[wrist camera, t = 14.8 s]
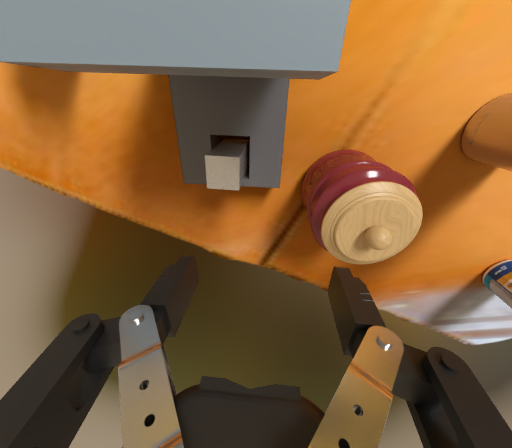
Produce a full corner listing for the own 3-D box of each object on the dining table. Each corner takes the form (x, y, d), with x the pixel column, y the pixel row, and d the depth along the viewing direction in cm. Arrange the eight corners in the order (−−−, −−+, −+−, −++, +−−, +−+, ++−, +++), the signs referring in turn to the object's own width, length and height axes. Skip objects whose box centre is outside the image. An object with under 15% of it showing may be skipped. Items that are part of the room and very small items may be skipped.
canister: (363, 221, 41) (418, 294, 25) (295, 215, 41) (309, 284, 26) (388, 150, 34) (483, 191, 19) (307, 144, 34) (336, 179, 19)
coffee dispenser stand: (300, 15, 27) (400, -273, 6) (292, 90, 31) (337, 71, 10) (167, 12, 27) (-153, -256, 7) (177, 86, 31) (-5, 61, 11)
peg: (249, 140, 35) (239, 157, 24) (248, 164, 37) (239, 190, 26) (224, 138, 35) (204, 155, 24) (225, 163, 37) (207, 188, 26)
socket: (288, 55, 29) (292, 47, 25) (278, 177, 37) (279, 188, 33) (179, 52, 29) (163, 44, 25) (193, 173, 38) (184, 183, 34)
